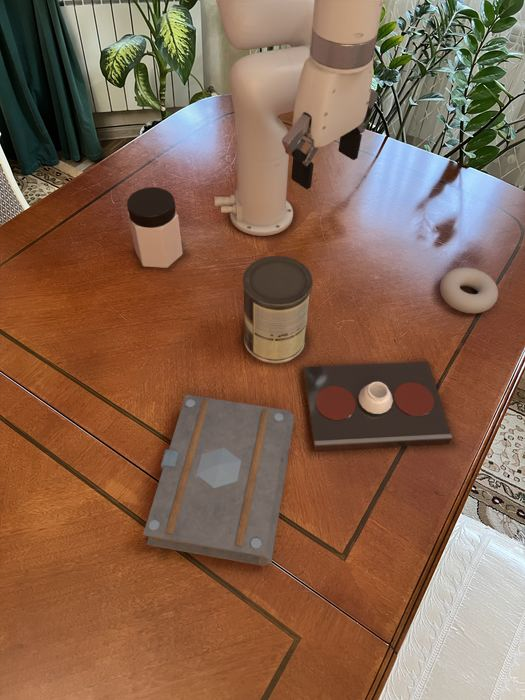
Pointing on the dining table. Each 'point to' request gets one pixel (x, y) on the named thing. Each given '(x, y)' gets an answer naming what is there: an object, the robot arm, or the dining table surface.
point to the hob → (365, 427)
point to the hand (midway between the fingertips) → (324, 169)
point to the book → (222, 481)
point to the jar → (154, 227)
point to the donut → (464, 300)
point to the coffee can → (276, 308)
